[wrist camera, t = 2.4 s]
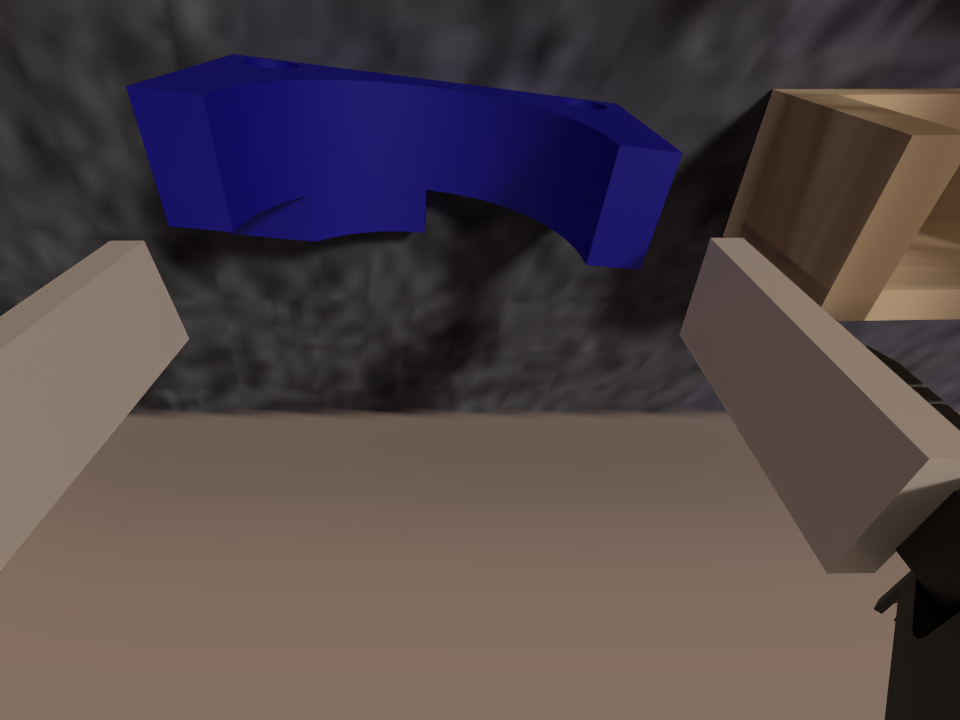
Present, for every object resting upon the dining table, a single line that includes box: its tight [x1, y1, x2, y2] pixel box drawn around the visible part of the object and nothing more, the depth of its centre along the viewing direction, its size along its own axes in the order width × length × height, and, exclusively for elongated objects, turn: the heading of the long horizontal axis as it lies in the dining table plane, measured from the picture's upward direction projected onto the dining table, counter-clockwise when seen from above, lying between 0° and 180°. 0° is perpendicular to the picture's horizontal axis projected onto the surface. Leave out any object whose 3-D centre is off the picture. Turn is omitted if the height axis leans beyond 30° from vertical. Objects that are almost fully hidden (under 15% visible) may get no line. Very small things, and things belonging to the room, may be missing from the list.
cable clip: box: [126, 54, 683, 270], centre depth 14 cm, size 12×4×6 cm, turn 83°
